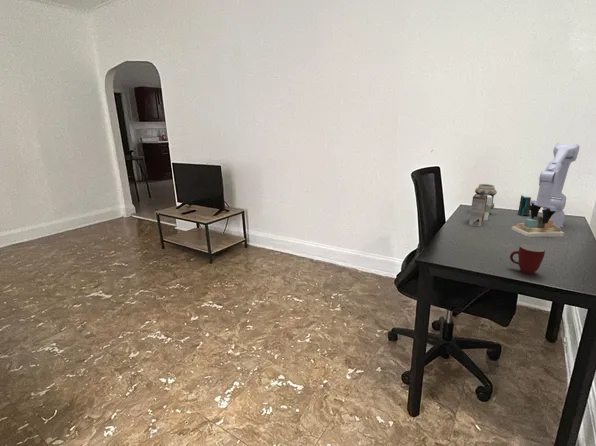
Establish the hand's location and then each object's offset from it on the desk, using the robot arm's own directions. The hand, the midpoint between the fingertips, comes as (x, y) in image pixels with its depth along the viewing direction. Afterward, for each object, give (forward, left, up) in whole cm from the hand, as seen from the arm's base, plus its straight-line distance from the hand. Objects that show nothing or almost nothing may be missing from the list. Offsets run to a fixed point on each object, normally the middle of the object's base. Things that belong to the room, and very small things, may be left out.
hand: (539, 221), depth 175 cm
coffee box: (+22, -18, -7) cm, 29 cm away
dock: (0, 0, -6) cm, 6 cm away
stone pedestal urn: (+6, -39, -7) cm, 40 cm away
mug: (+39, +44, -7) cm, 59 cm away
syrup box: (+14, -26, -7) cm, 30 cm away
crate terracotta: (-4, 0, -3) cm, 5 cm away
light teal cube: (+4, 0, -3) cm, 5 cm away
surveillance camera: (-18, -31, -7) cm, 36 cm away
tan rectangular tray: (0, 0, -4) cm, 4 cm away
